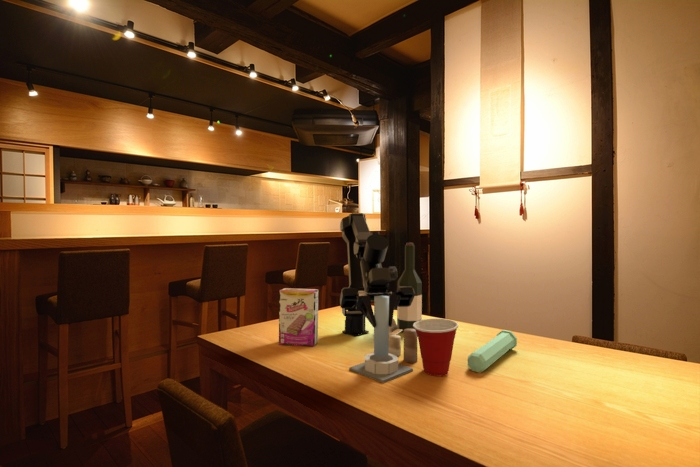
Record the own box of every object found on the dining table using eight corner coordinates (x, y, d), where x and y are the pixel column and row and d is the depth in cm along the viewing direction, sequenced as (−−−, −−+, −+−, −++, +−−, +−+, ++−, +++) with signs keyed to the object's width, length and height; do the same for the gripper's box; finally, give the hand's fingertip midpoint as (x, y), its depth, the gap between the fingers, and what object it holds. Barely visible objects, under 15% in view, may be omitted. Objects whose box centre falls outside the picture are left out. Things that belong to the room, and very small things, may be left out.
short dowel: (393, 351, 108) (393, 334, 108) (403, 354, 105) (403, 336, 105) (384, 354, 105) (385, 336, 105) (394, 357, 103) (395, 339, 103)
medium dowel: (409, 357, 103) (409, 327, 103) (420, 360, 101) (420, 330, 100) (400, 360, 101) (400, 330, 101) (411, 363, 98) (411, 332, 98)
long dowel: (377, 350, 96) (377, 294, 96) (390, 352, 94) (391, 296, 94) (371, 354, 93) (371, 297, 93) (385, 357, 91) (385, 298, 91)
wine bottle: (395, 332, 128) (395, 243, 128) (399, 326, 136) (399, 242, 136) (420, 334, 126) (420, 243, 125) (422, 328, 134) (423, 242, 133)
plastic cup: (404, 367, 96) (404, 319, 96) (441, 362, 100) (441, 316, 100) (427, 383, 86) (428, 330, 86) (467, 377, 90) (468, 326, 89)
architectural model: (402, 341, 120) (402, 317, 120) (394, 346, 114) (394, 322, 114) (392, 339, 122) (392, 316, 122) (383, 345, 116) (384, 320, 115)
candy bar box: (278, 345, 113) (278, 290, 113) (282, 340, 118) (283, 287, 118) (315, 346, 112) (315, 291, 112) (318, 341, 117) (318, 288, 117)
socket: (379, 359, 101) (379, 347, 101) (412, 370, 93) (413, 358, 93) (349, 369, 94) (349, 357, 94) (382, 383, 86) (383, 369, 86)
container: (480, 350, 91) (512, 327, 110) (459, 354, 95) (493, 332, 114) (490, 375, 90) (520, 348, 109) (467, 378, 93) (501, 351, 113)
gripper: (341, 255, 96) (348, 308, 85) (413, 255, 99) (428, 306, 88) (337, 282, 103) (343, 334, 93) (403, 281, 106) (416, 331, 96)
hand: (382, 326), depth 92 cm, fingers closed on long dowel, 4 cm apart
